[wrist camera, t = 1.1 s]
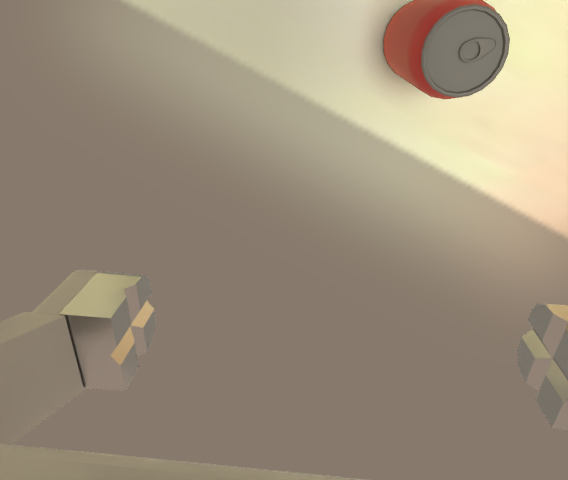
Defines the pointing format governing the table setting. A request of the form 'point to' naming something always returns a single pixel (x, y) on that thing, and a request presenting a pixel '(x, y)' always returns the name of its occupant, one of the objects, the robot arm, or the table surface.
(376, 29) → the table surface
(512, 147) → the table surface
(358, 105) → the table surface
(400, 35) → the beer can
